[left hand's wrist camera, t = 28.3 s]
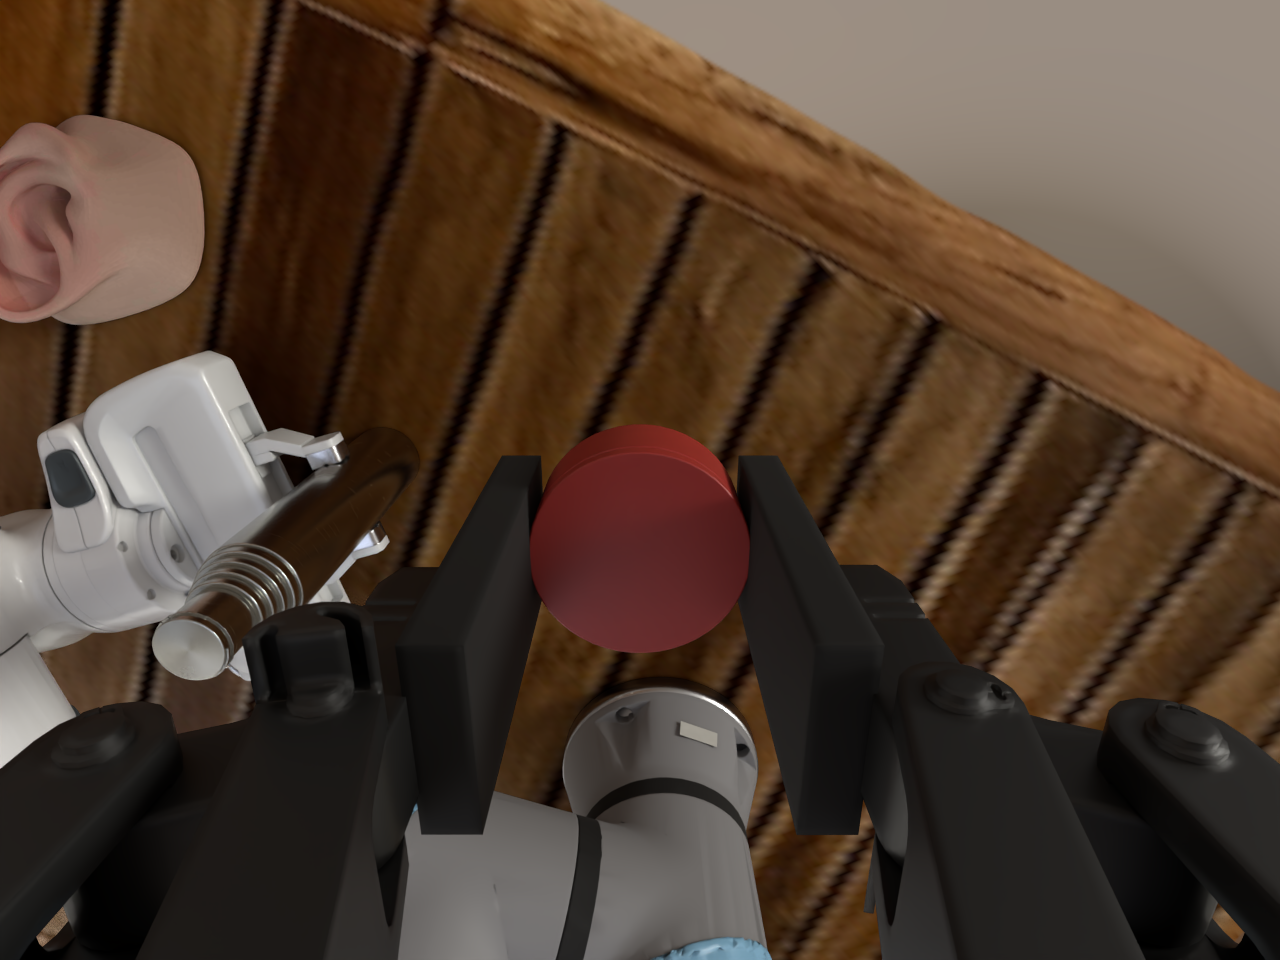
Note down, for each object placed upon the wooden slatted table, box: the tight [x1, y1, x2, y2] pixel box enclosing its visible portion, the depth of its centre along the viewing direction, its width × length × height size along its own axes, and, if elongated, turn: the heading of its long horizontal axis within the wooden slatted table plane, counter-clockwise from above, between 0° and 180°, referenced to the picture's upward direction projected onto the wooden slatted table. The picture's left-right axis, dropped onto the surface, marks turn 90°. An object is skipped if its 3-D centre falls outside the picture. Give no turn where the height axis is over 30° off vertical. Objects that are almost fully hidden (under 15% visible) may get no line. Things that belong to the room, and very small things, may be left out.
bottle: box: [152, 427, 420, 680], centre depth 38 cm, size 5×5×23 cm
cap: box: [529, 425, 750, 653], centre depth 13 cm, size 4×4×2 cm
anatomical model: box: [0, 115, 204, 325], centre depth 41 cm, size 13×4×12 cm
